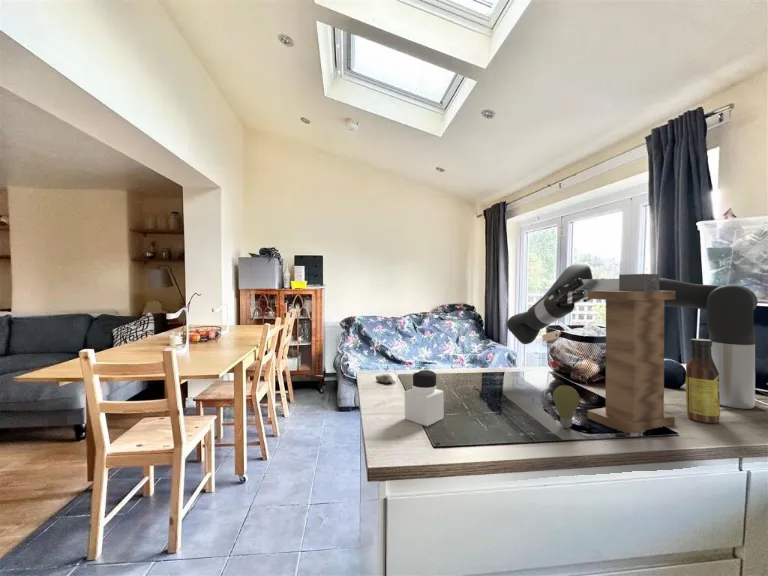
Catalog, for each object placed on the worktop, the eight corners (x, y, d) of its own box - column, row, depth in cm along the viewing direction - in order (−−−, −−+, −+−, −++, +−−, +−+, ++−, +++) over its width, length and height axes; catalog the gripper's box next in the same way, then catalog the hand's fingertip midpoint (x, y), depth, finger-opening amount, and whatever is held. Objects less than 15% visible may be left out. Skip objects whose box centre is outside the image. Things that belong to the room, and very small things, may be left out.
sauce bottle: (726, 425, 85) (727, 342, 85) (696, 423, 86) (696, 341, 86) (707, 415, 91) (708, 338, 91) (679, 413, 92) (680, 337, 92)
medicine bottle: (444, 418, 90) (444, 371, 90) (427, 427, 85) (427, 376, 84) (421, 411, 95) (421, 366, 94) (404, 419, 89) (403, 371, 89)
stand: (633, 410, 95) (634, 290, 95) (674, 424, 85) (675, 290, 85) (587, 418, 90) (587, 290, 89) (625, 433, 80) (626, 291, 80)
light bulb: (569, 434, 80) (569, 390, 80) (547, 425, 85) (547, 384, 85) (584, 429, 83) (585, 386, 82) (563, 421, 88) (563, 381, 87)
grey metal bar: (585, 289, 102) (585, 275, 102) (659, 291, 83) (659, 274, 83) (572, 290, 101) (572, 275, 101) (643, 291, 82) (644, 273, 82)
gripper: (576, 318, 111) (619, 293, 98) (539, 319, 106) (579, 293, 93) (566, 296, 114) (606, 269, 101) (530, 297, 110) (567, 269, 96)
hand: (593, 281), depth 97 cm, fingers open, 8 cm apart
